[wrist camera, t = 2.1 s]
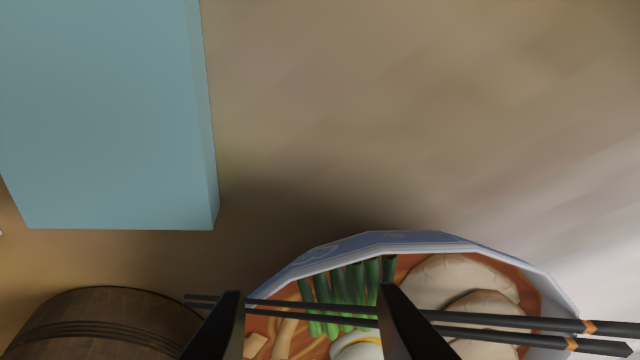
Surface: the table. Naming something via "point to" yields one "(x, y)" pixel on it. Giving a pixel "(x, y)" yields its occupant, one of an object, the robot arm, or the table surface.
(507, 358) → the ramen bowl
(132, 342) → the wooden container
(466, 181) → the table surface
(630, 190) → the table surface
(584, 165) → the table surface
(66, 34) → the light blue slab
